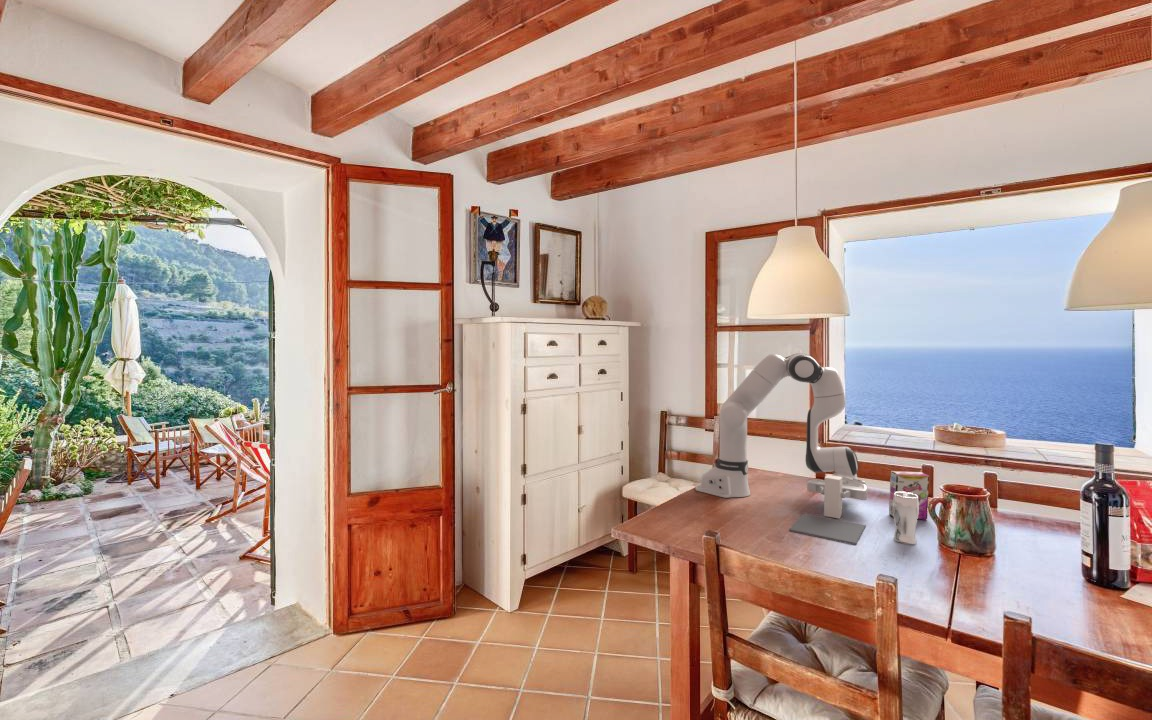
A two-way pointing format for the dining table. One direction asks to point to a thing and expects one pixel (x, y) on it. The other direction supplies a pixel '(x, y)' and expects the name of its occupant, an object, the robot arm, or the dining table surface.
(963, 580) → the dining table surface
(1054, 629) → the dining table surface
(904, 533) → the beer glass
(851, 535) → the rubber mat
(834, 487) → the white block
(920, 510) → the candy bar box
